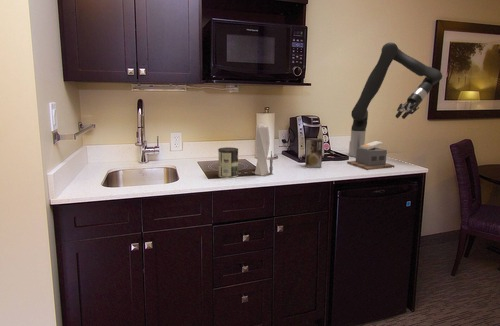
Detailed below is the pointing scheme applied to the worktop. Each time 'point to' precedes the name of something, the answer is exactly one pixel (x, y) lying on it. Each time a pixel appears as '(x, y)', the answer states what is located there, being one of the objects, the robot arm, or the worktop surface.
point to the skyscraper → (262, 150)
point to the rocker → (371, 145)
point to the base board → (369, 166)
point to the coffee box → (313, 152)
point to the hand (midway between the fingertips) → (399, 117)
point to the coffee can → (228, 162)
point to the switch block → (371, 156)
